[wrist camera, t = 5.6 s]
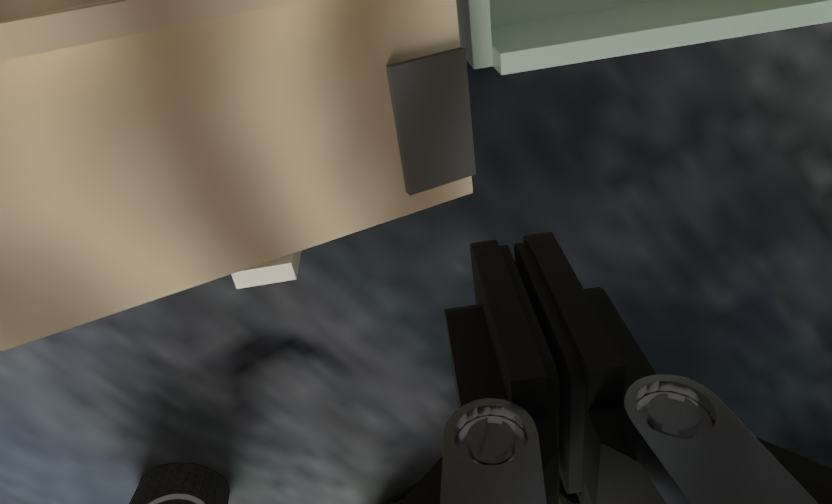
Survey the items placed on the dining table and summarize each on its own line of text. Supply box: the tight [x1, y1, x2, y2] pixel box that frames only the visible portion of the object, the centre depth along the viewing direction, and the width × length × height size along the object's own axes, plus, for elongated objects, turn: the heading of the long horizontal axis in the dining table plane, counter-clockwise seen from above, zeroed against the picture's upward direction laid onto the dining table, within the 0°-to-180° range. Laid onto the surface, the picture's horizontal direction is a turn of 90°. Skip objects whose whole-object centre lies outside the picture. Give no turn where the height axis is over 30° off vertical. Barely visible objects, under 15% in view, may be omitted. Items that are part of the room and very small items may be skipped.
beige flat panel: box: [0, 0, 476, 351], centre depth 16 cm, size 18×16×3 cm
